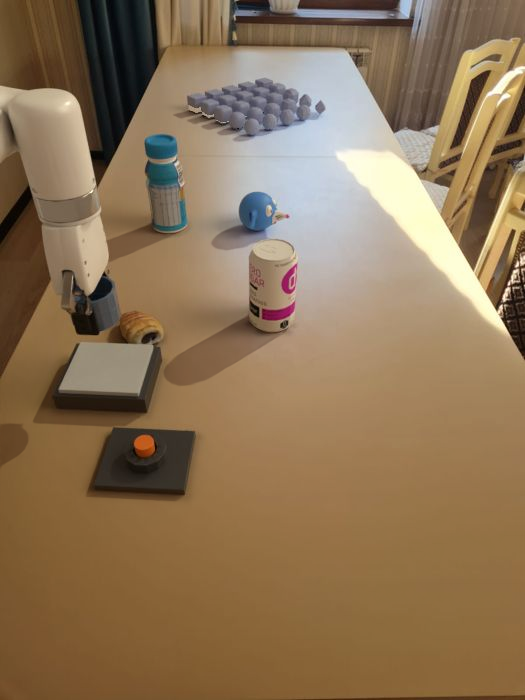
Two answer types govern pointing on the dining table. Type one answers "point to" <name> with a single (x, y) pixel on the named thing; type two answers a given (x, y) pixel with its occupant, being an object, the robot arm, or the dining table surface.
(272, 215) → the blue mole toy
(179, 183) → the beverage bottle
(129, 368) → the scale
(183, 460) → the block
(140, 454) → the button
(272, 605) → the dining table surface
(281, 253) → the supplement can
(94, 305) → the bowl
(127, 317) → the pastry
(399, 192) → the dining table surface
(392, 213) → the dining table surface
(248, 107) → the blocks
